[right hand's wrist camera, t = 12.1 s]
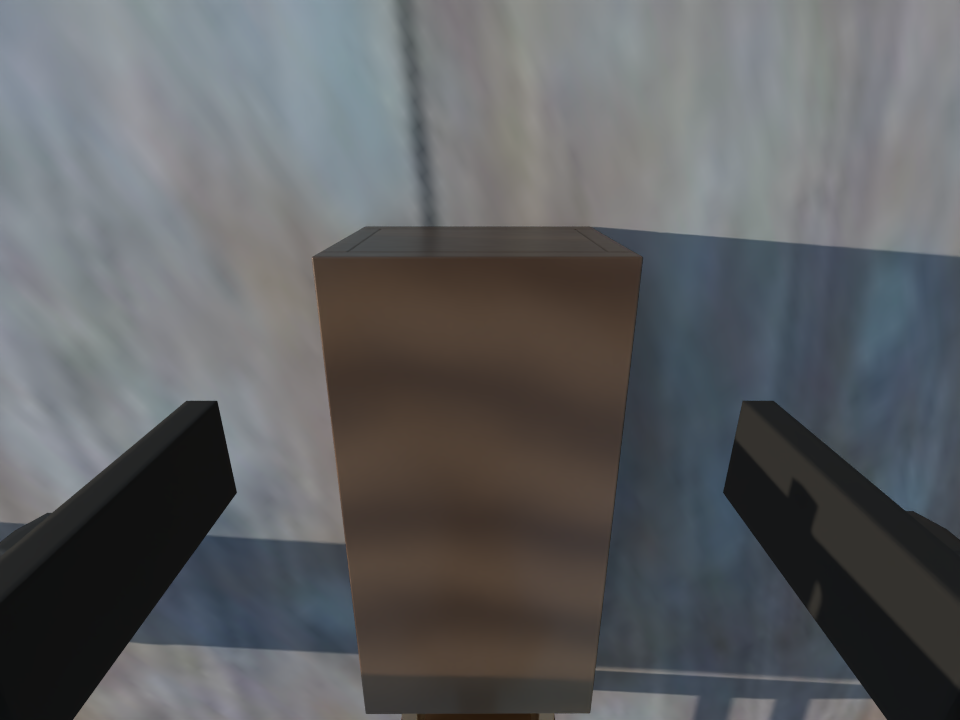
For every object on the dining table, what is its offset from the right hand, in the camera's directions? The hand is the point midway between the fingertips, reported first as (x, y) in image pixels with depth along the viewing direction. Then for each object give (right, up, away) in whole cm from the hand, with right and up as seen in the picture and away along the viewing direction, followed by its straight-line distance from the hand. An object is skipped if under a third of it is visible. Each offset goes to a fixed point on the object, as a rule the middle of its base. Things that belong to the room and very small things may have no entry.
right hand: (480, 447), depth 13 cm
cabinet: (0, -2, +15) cm, 15 cm away
